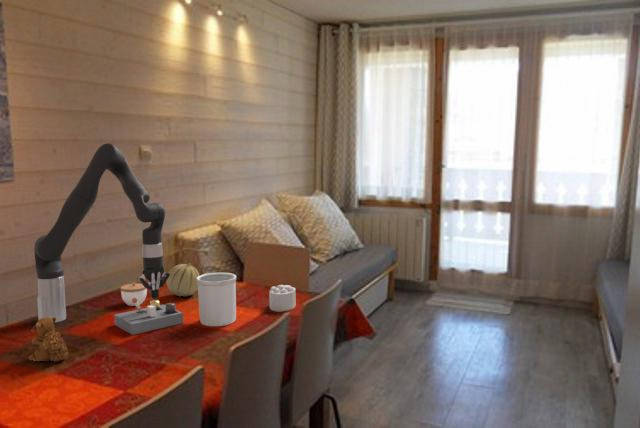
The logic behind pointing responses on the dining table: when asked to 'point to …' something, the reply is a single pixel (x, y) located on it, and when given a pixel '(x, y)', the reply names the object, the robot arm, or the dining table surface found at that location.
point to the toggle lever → (136, 304)
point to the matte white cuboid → (151, 311)
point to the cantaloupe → (183, 280)
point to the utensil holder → (217, 298)
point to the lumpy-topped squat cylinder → (282, 298)
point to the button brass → (155, 304)
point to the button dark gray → (170, 307)
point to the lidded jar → (133, 293)
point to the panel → (147, 320)
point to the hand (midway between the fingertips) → (154, 298)
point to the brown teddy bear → (48, 342)
